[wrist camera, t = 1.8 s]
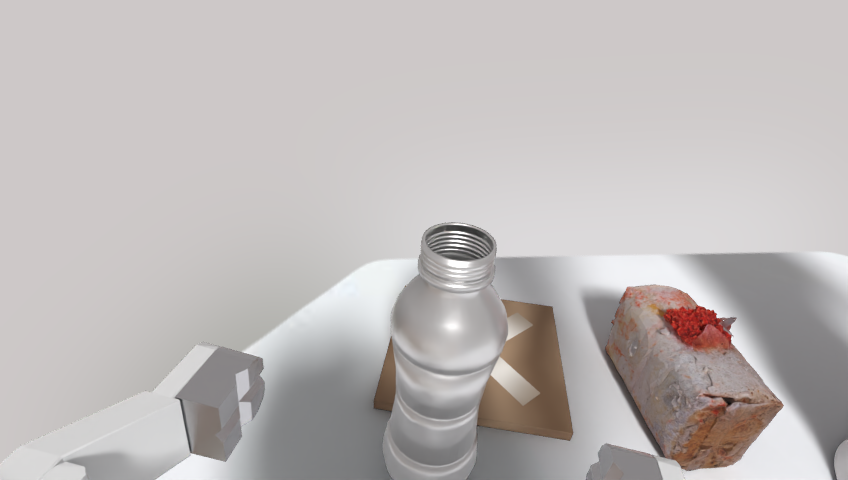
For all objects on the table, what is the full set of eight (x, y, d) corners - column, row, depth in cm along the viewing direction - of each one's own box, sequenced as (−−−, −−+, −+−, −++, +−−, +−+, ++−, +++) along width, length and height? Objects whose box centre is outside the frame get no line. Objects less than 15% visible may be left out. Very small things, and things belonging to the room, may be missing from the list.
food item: (589, 341, 45) (619, 263, 39) (662, 341, 46) (702, 264, 40) (658, 474, 33) (715, 390, 28) (754, 471, 34) (827, 389, 29)
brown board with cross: (550, 313, 48) (552, 306, 47) (569, 440, 35) (573, 432, 35) (404, 292, 49) (405, 285, 48) (373, 408, 36) (373, 400, 36)
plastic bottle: (387, 422, 35) (397, 203, 24) (471, 430, 35) (519, 214, 24) (375, 506, 30) (381, 274, 19) (474, 516, 30) (537, 289, 19)
